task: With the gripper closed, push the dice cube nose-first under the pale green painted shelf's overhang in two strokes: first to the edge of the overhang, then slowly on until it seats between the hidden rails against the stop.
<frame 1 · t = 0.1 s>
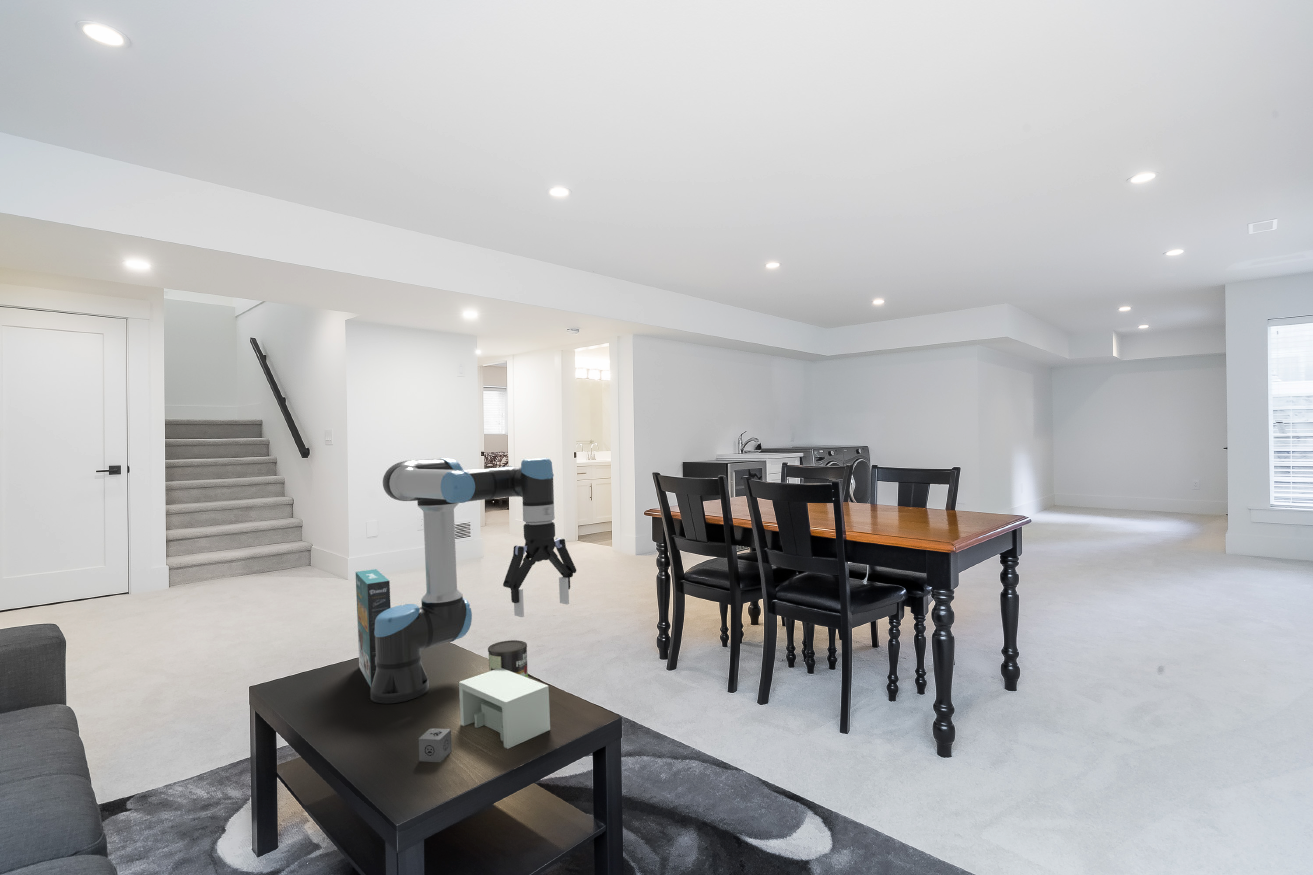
hand: (542, 609, 157), 28 cm above the table, fingers open, 13 cm apart
dice cube: (435, 756, 144), on the table
shelf: (504, 726, 157), on the table
coffee can: (509, 698, 174), on the table
cake mix box: (375, 675, 196), on the table
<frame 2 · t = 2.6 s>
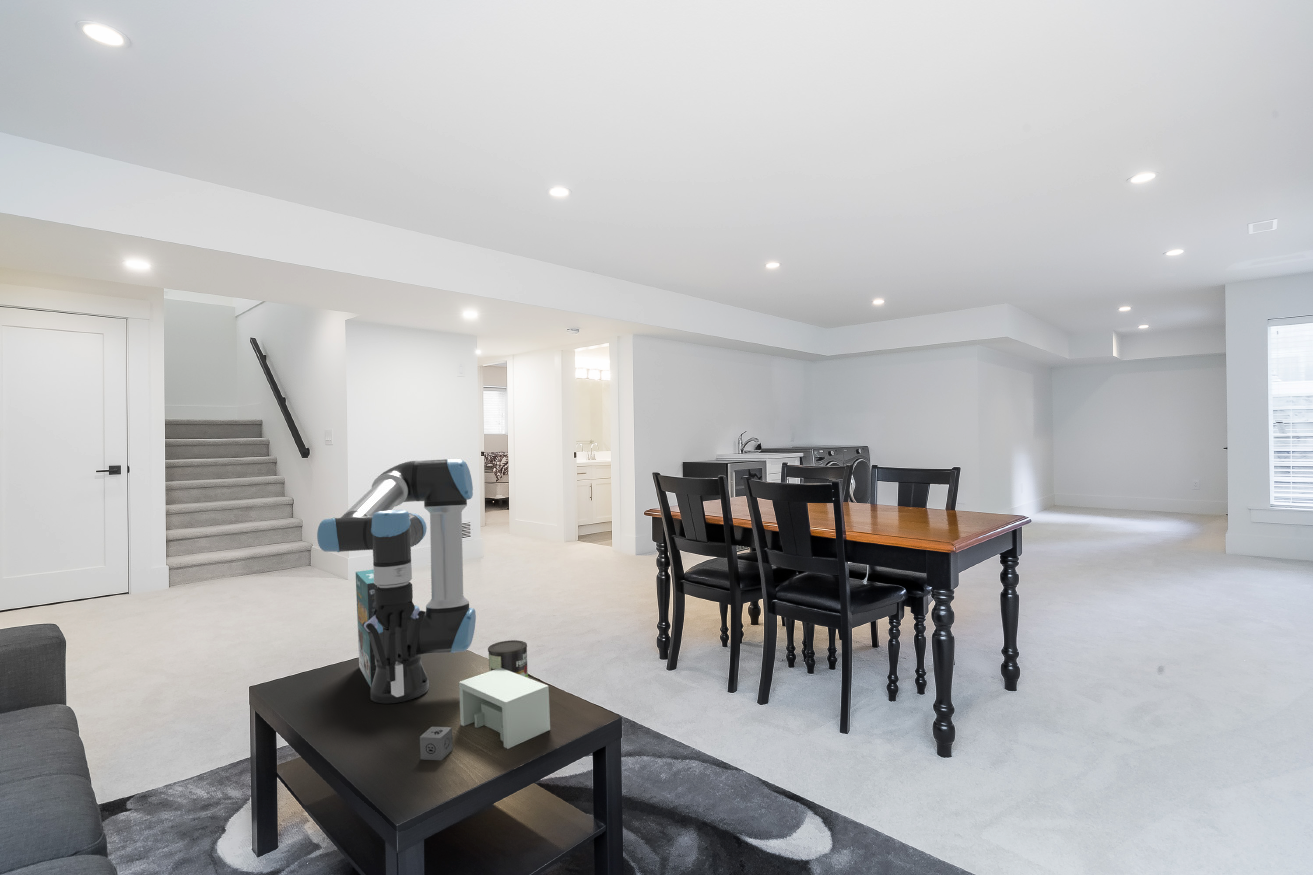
hand: (397, 694, 137), 16 cm above the table, fingers closed
nothing on the table moved.
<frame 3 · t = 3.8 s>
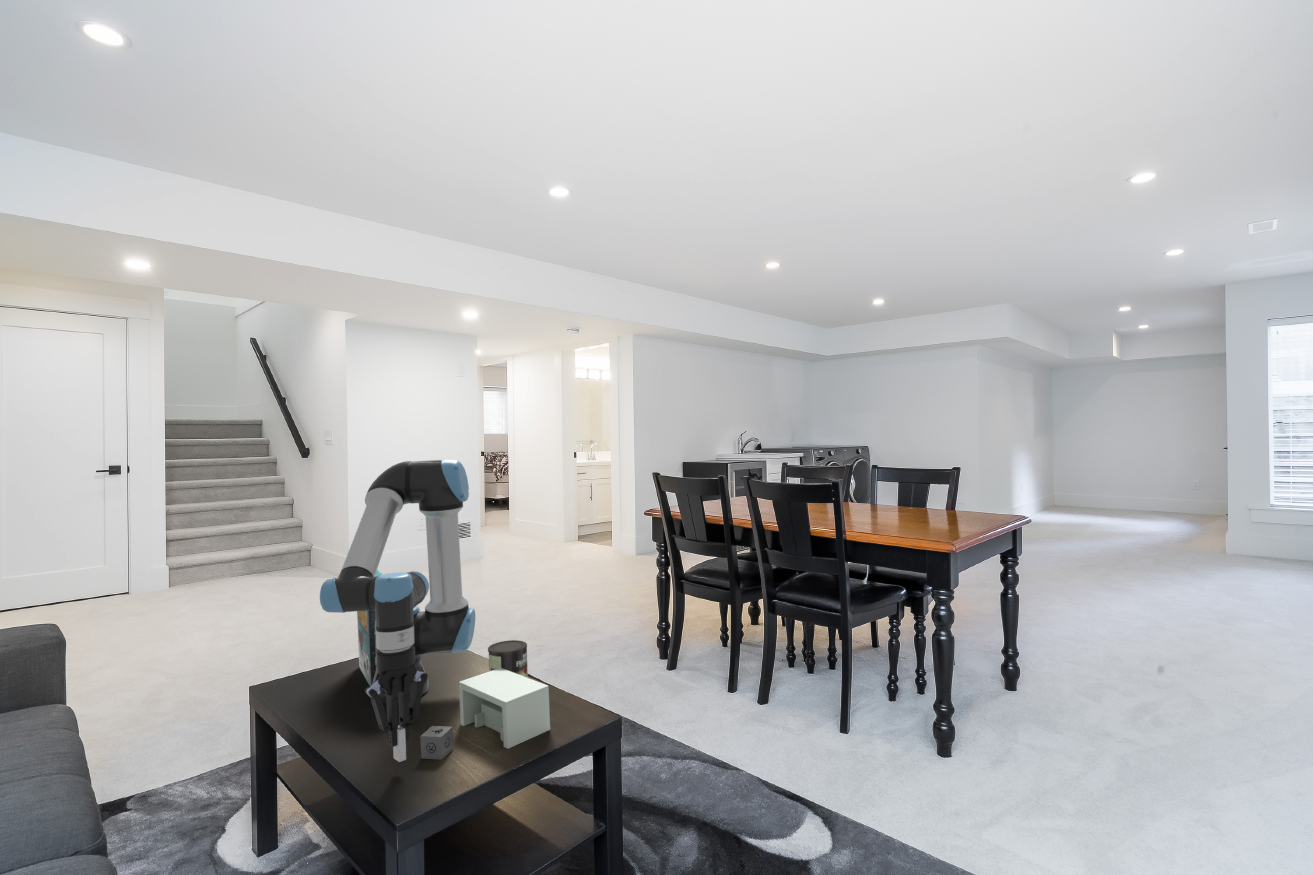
hand: (399, 758, 137), 3 cm above the table, fingers closed
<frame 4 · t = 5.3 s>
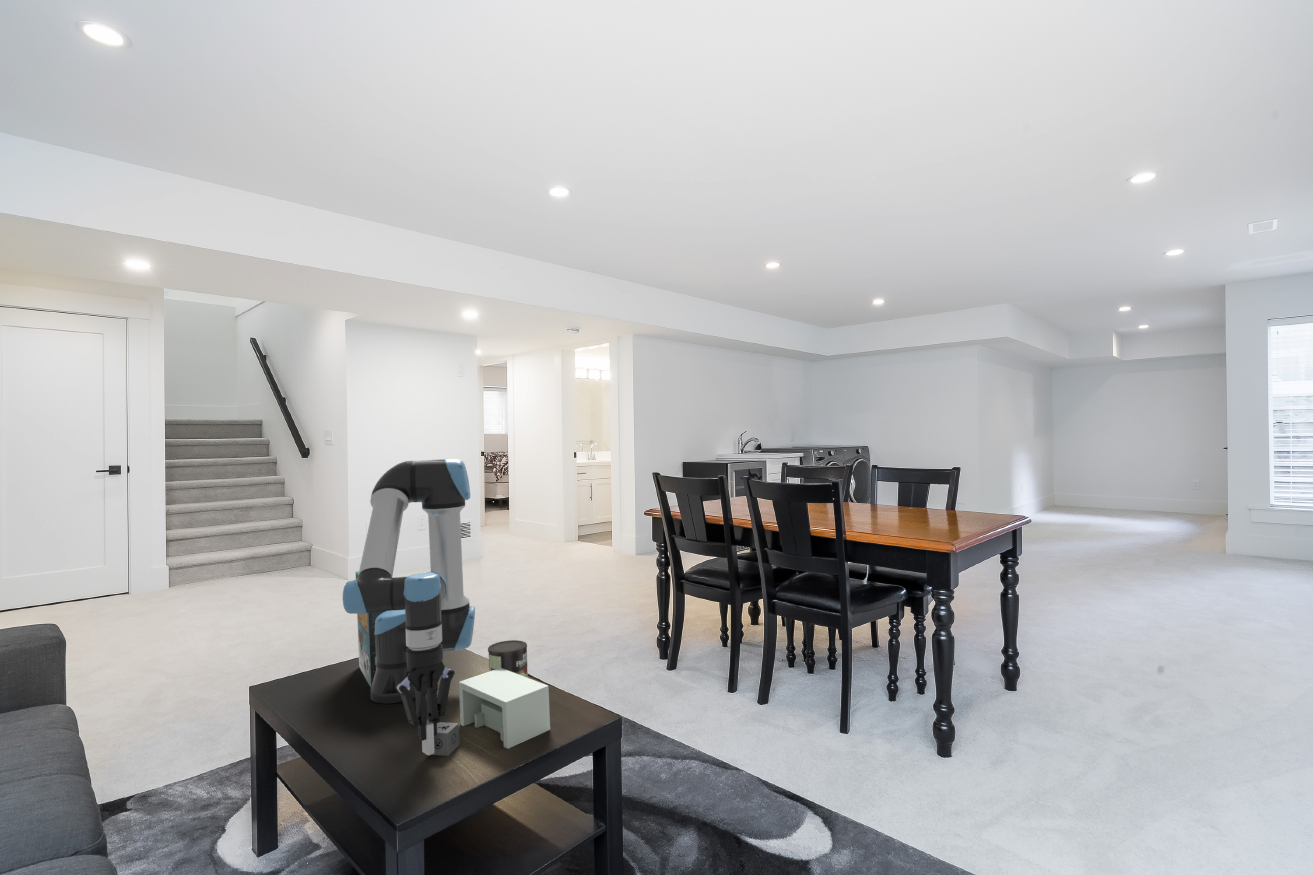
hand: (428, 752, 142), 1 cm above the table, fingers closed
dice cube: (444, 750, 146), on the table, touching gripper
everything else where it was.
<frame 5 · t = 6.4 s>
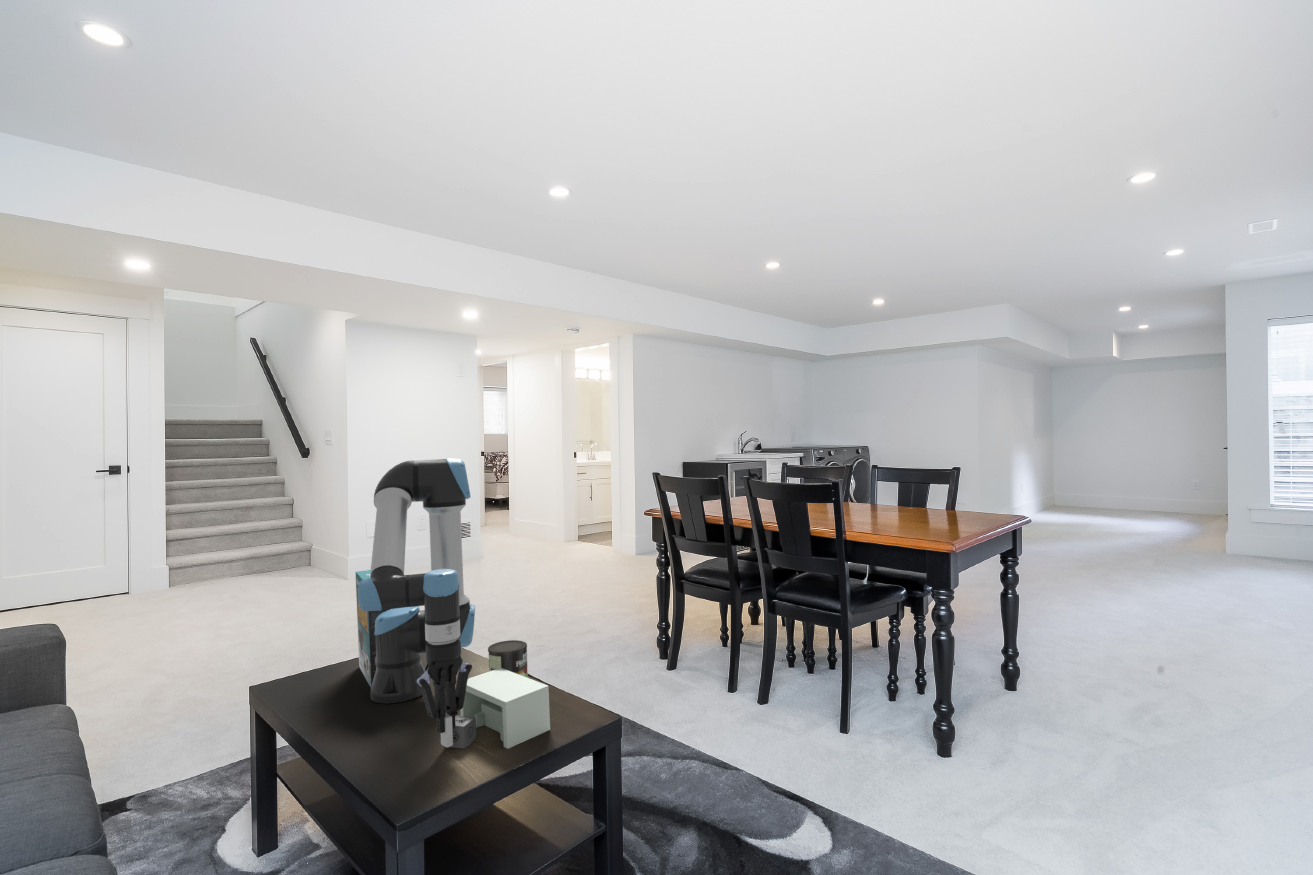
hand: (446, 744, 145), 2 cm above the table, fingers closed
dice cube: (461, 743, 149), on the table, touching gripper
everything else where it was.
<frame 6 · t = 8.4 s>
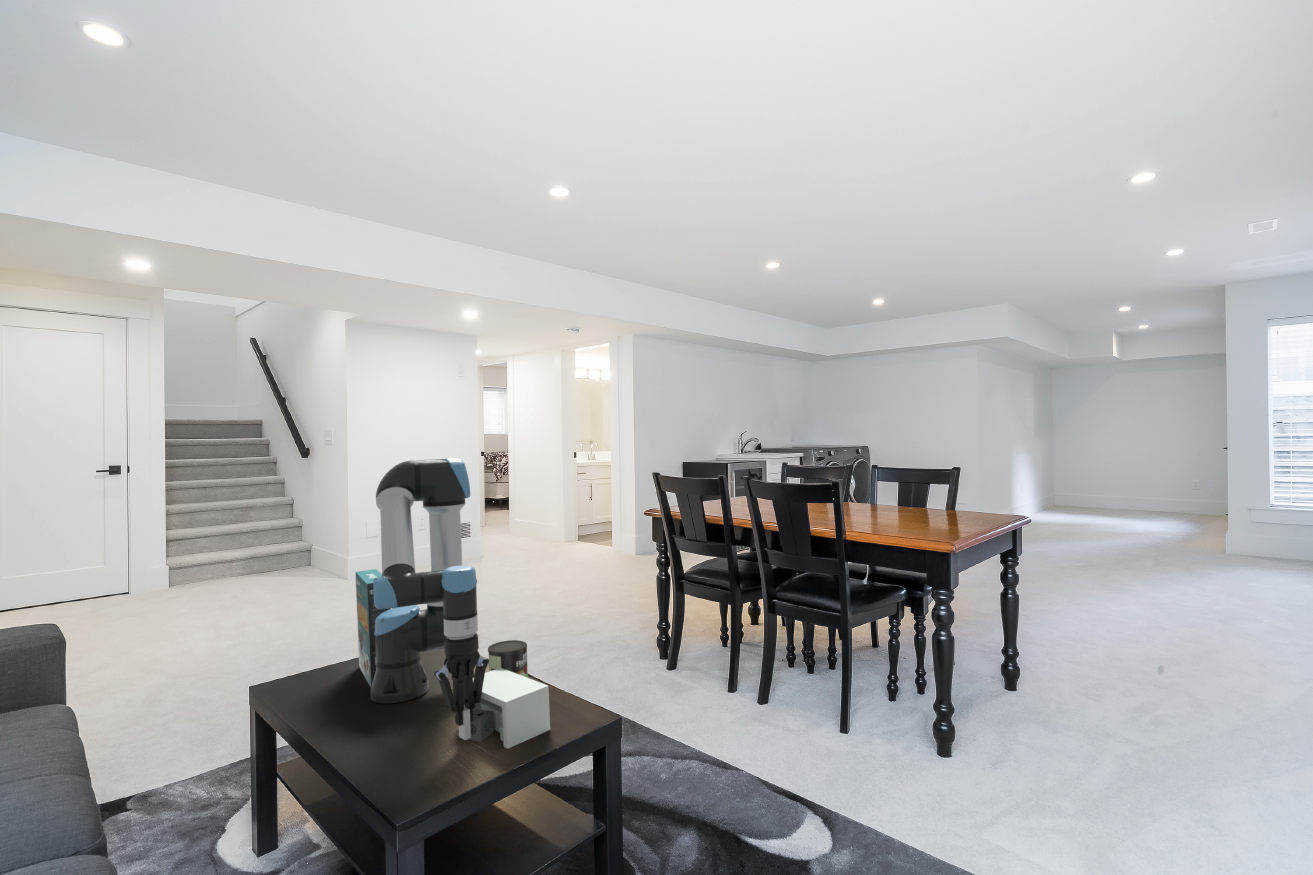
hand: (464, 737, 149), 2 cm above the table, fingers closed
dice cube: (478, 736, 153), on the table, touching gripper
everything else where it was.
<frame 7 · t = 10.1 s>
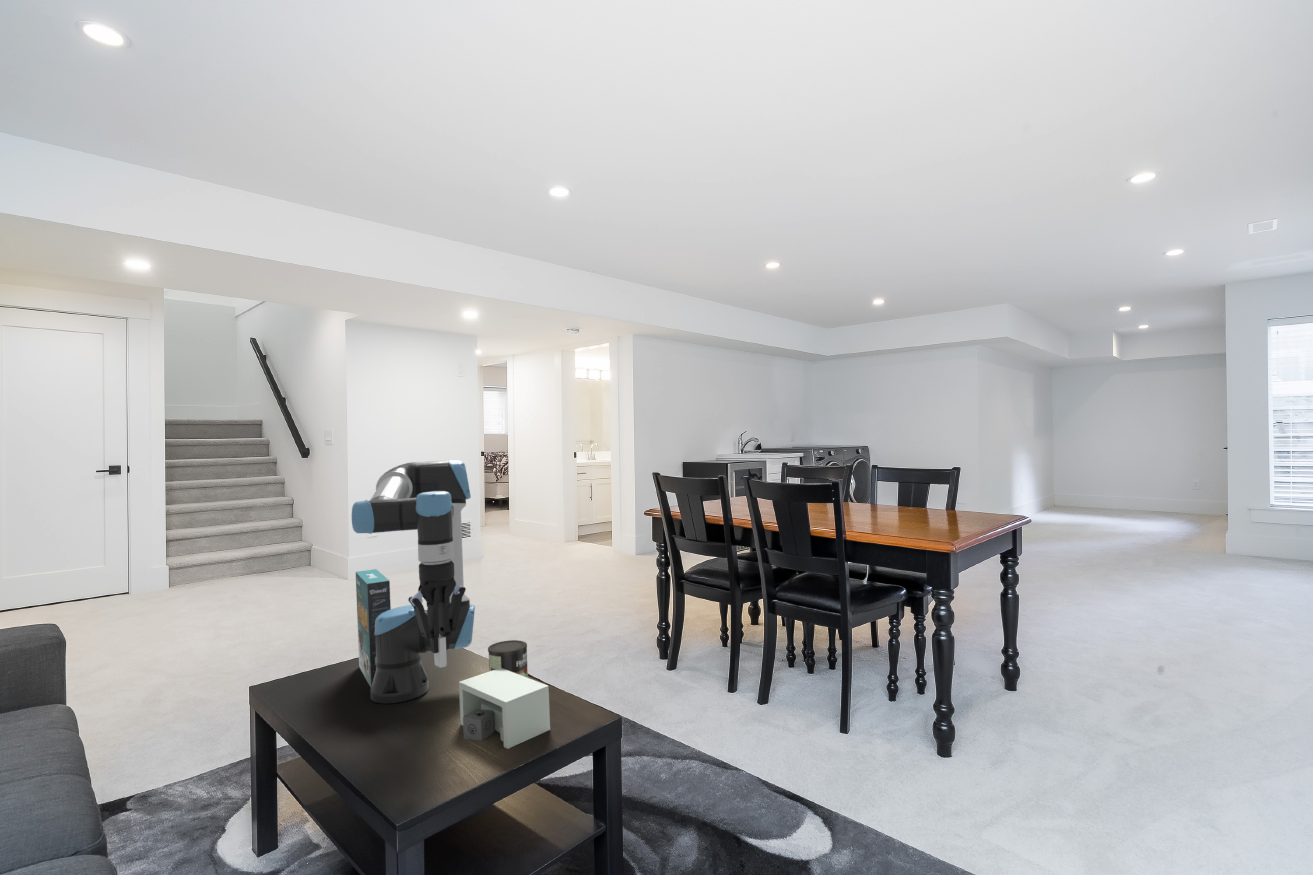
hand: (440, 665, 145), 19 cm above the table, fingers closed
dice cube: (479, 735, 153), on the table
everything else where it was.
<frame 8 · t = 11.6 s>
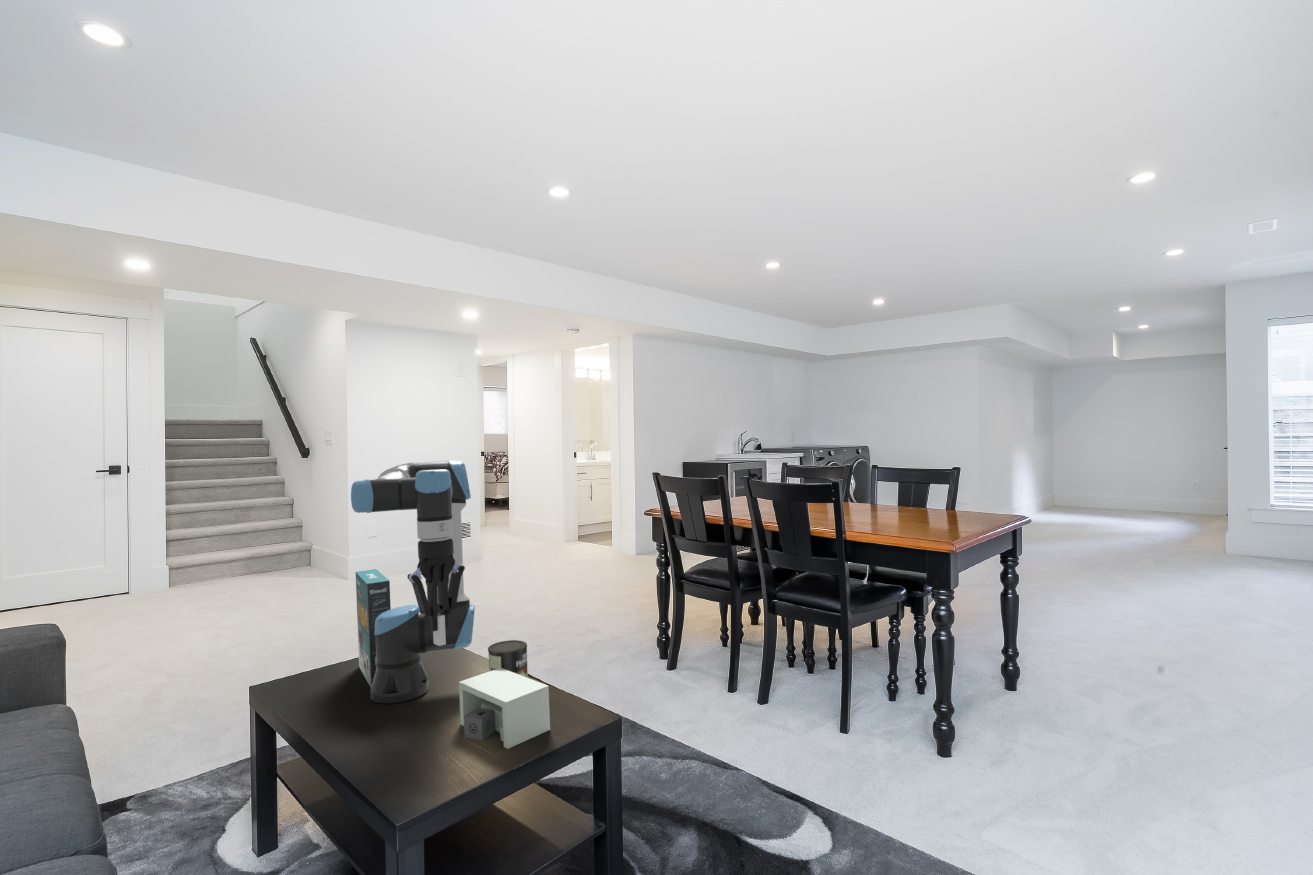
hand: (439, 643, 145), 24 cm above the table, fingers closed
nothing on the table moved.
at the end: dice cube 1.6 cm from the target spot on the shelf, point 0.0 cm above the shelf's base; dice cube moved 12.4 cm from its start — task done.
